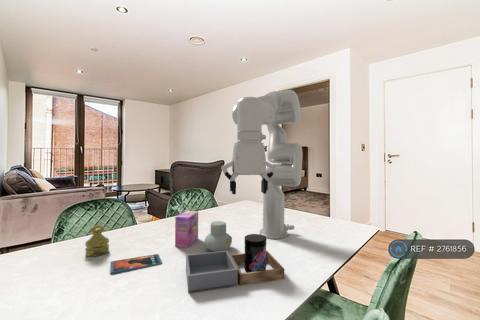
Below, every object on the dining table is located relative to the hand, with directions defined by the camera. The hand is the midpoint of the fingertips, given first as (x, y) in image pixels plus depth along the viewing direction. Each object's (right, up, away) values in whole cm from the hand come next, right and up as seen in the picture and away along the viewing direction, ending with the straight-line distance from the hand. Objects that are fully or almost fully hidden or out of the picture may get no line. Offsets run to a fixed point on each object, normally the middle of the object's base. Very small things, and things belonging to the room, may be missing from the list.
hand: (248, 193), depth 73 cm
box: (-24, -24, +23) cm, 41 cm away
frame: (+2, -24, -1) cm, 24 cm away
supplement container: (+2, -24, -1) cm, 24 cm away
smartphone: (-37, -24, +4) cm, 44 cm away
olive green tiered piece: (-55, -24, +12) cm, 61 cm away
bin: (-12, -24, -4) cm, 27 cm away
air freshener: (-11, -24, +16) cm, 31 cm away
